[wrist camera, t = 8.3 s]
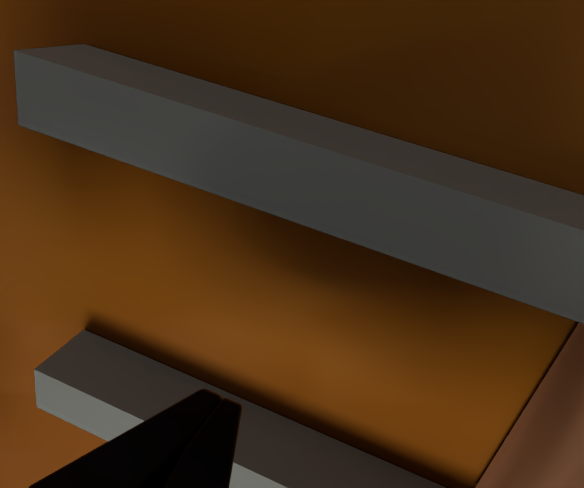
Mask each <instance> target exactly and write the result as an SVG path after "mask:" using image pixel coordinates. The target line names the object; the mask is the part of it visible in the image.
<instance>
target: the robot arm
mask: <svg viewBox="0 0 584 488" xmlns="http://www.w3.org/2000/svg"><path fill="white" fill-rule="evenodd" d="M241 413H242V405H241V404H240V403H238V402H236V401H233V400H231V399H229V398H226V397H225V398H222V396H221V395H220V394H217V393H215V392H213V391H211V390H208V389H205V388H204V389H200V390H198V391H196V392H195V393H193V394H191V395H189V396H188V397H186V398H184V399H182V400H181V401H179V402H177V403H175V404H173V405H172V406H170V407H168V408H166V409H165V410H163V411H161V412H159V413H158V414H156V415H154V416H152V417H151V418H149V419H147V420H145V421H144V422H142V423H140V424H138V425H136V426H135V427H133V428H131V429H129V430H128V431H126V432H124V433H122V434H121V435H119V436H117V437H115V438H114V439H112V440H110V441H108V442H106V443H105V444H103V445H101V446H99V447H98V448H96V449H94V450H92V451H91V452H89V453H87V454H85V455H84V456H82V457H80V458H78V459H76V460H75V461H73V462H71V463H69V464H68V465H66V466H64V467H62V468H61V469H59V470H57V471H55V472H54V473H52V474H50V475H48V476H46V477H45V478H43V479H41V480H39V481H38V482H36V483H34V484H32V485H31V486H29V488H229V485H230V479H231V473H232V467H233V461H234V455H235V449H236V443H237V437H238V431H239V425H240V419H241Z"/></svg>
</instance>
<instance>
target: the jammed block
mask: <svg viewBox="0 0 584 488" xmlns="http://www.w3.org/2000/svg"><path fill="white" fill-rule="evenodd" d="M475 488H584V324H582V323H580V322H579V323H578V325H577V327H576V328H575V330H574V331H573V333H572V335H571V336H570V338H569V339H568V341H567V342H566V344H565V346H564V347H563V349H562V350H561V352H560V354H559V355H558V357H557V358H556V360H555V362H554V363H553V365H552V366H551V368H550V369H549V371H548V373H547V374H546V376H545V377H544V379H543V381H542V382H541V384H540V385H539V387H538V389H537V390H536V392H535V393H534V395H533V396H532V398H531V400H530V401H529V403H528V404H527V406H526V408H525V409H524V411H523V412H522V414H521V416H520V417H519V419H518V420H517V422H516V424H515V425H514V427H513V428H512V430H511V431H510V433H509V435H508V436H507V438H506V439H505V441H504V443H503V444H502V446H501V447H500V449H499V451H498V452H497V454H496V455H495V457H494V458H493V460H492V462H491V463H490V465H489V466H488V468H487V470H486V471H485V473H484V474H483V476H482V478H481V479H480V481H479V482H478V484H477V485H476V487H475Z"/></svg>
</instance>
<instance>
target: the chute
mask: <svg viewBox="0 0 584 488" xmlns="http://www.w3.org/2000/svg"><path fill="white" fill-rule="evenodd" d="M14 66H15V81H16V97H17V112H18V125H20V126H23V127H25V128H28V129H31V130H34V131H37V132H40V133H42V134H45V135H48V136H51V137H54V138H57V139H59V140H62V141H65V142H68V143H71V144H74V145H77V146H79V147H82V148H85V149H88V150H91V151H94V152H96V153H99V154H102V155H105V156H108V157H111V158H113V159H116V160H119V161H122V162H125V163H128V164H131V165H133V166H136V167H139V168H142V169H145V170H148V171H150V172H153V173H156V174H159V175H162V176H165V177H167V178H170V179H173V180H176V181H179V182H182V183H185V184H187V185H190V186H193V187H196V188H199V189H202V190H204V191H207V192H210V193H213V194H216V195H219V196H221V197H224V198H227V199H230V200H233V201H236V202H238V203H241V204H244V205H247V206H250V207H253V208H256V209H258V210H261V211H264V212H267V213H270V214H273V215H275V216H278V217H281V218H284V219H287V220H290V221H292V222H295V223H298V224H301V225H304V226H307V227H310V228H312V229H315V230H318V231H321V232H324V233H327V234H329V235H332V236H335V237H338V238H341V239H344V240H346V241H349V242H352V243H355V244H358V245H361V246H364V247H366V248H369V249H372V250H375V251H378V252H381V253H383V254H386V255H389V256H392V257H395V258H398V259H400V260H403V261H406V262H409V263H412V264H415V265H418V266H420V267H423V268H426V269H429V270H432V271H435V272H437V273H440V274H443V275H446V276H449V277H452V278H454V279H457V280H460V281H463V282H466V283H469V284H472V285H474V286H477V287H480V288H483V289H486V290H489V291H491V292H494V293H497V294H500V295H503V296H506V297H508V298H511V299H514V300H517V301H520V302H523V303H526V304H528V305H531V306H534V307H537V308H540V309H543V310H545V311H548V312H551V313H554V314H557V315H560V316H562V317H565V318H568V319H571V320H574V321H577V322H580V323H582V324H584V195H581V194H578V193H575V192H571V191H568V190H565V189H561V188H558V187H555V186H552V185H548V184H545V183H542V182H538V181H535V180H532V179H528V178H525V177H522V176H519V175H515V174H512V173H509V172H505V171H502V170H499V169H495V168H492V167H489V166H486V165H482V164H479V163H476V162H472V161H469V160H466V159H462V158H459V157H456V156H453V155H449V154H446V153H443V152H439V151H436V150H433V149H429V148H426V147H423V146H420V145H416V144H413V143H410V142H406V141H403V140H400V139H396V138H393V137H390V136H386V135H383V134H380V133H377V132H373V131H370V130H367V129H363V128H360V127H357V126H353V125H350V124H347V123H344V122H340V121H337V120H334V119H330V118H327V117H324V116H320V115H317V114H314V113H311V112H307V111H304V110H301V109H297V108H294V107H291V106H287V105H284V104H281V103H278V102H274V101H271V100H268V99H264V98H261V97H258V96H254V95H251V94H248V93H245V92H241V91H238V90H235V89H231V88H228V87H225V86H221V85H218V84H215V83H212V82H208V81H205V80H202V79H198V78H195V77H192V76H188V75H185V74H182V73H178V72H175V71H172V70H169V69H165V68H162V67H159V66H155V65H152V64H149V63H145V62H142V61H139V60H136V59H132V58H129V57H126V56H122V55H119V54H116V53H112V52H109V51H106V50H103V49H99V48H96V47H93V46H89V45H86V44H78V45H67V46H55V47H44V48H33V49H21V50H14ZM34 374H35V389H36V405H37V407H38V408H40V409H42V410H44V411H46V412H48V413H50V414H53V415H55V416H57V417H59V418H61V419H63V420H65V421H67V422H69V423H71V424H73V425H75V426H77V427H79V428H81V429H84V430H86V431H88V432H90V433H92V434H94V435H96V436H98V437H100V438H102V439H104V440H106V441H110V440H112V439H114V438H115V437H117V436H119V435H121V434H122V433H124V432H126V431H128V430H129V429H131V428H133V427H135V426H136V425H138V424H140V423H142V422H144V421H145V420H147V419H149V418H151V417H152V416H154V415H156V414H158V413H159V412H161V411H163V410H165V409H166V408H168V407H170V406H172V405H173V404H175V403H177V402H179V401H181V400H182V399H184V398H186V397H188V396H189V395H191V394H193V393H195V392H196V391H198V390H200V389H204V388H205V389H208V390H211V391H213V392H215V393H217V394H220V395H221V396H222V398H225V397H226V398H229V399H231V400H233V401H236V402H238V403H240V404H241V405H242V413H241V419H240V425H239V431H238V437H237V443H236V449H235V455H234V461H233V467H232V473H231V479H230V485H229V488H445V487H443V486H441V485H439V484H436V483H434V482H432V481H429V480H427V479H425V478H423V477H420V476H418V475H416V474H413V473H411V472H409V471H407V470H404V469H402V468H400V467H397V466H395V465H393V464H391V463H388V462H386V461H384V460H381V459H379V458H377V457H375V456H372V455H370V454H368V453H365V452H363V451H361V450H359V449H356V448H354V447H352V446H349V445H347V444H345V443H343V442H340V441H338V440H336V439H333V438H331V437H329V436H326V435H324V434H322V433H320V432H317V431H315V430H313V429H310V428H308V427H306V426H304V425H301V424H299V423H297V422H294V421H292V420H290V419H288V418H285V417H283V416H281V415H278V414H276V413H274V412H272V411H269V410H267V409H265V408H262V407H260V406H258V405H256V404H253V403H251V402H249V401H246V400H244V399H242V398H240V397H237V396H235V395H233V394H230V393H228V392H226V391H224V390H221V389H219V388H217V387H214V386H212V385H210V384H208V383H205V382H203V381H201V380H198V379H196V378H194V377H191V376H189V375H187V374H185V373H182V372H180V371H178V370H175V369H173V368H171V367H169V366H166V365H164V364H162V363H159V362H157V361H155V360H153V359H150V358H148V357H146V356H143V355H141V354H139V353H137V352H134V351H132V350H130V349H127V348H125V347H123V346H121V345H118V344H116V343H114V342H111V341H109V340H107V339H105V338H102V337H100V336H98V335H95V334H93V333H91V332H89V331H86V330H82V331H81V332H80V333H79V334H77V335H76V336H75V337H74V338H73V339H71V340H70V341H69V342H68V343H66V344H65V345H64V346H63V347H61V348H60V349H59V350H58V351H56V352H55V353H54V354H53V355H51V356H50V357H49V358H48V359H46V360H45V361H44V362H43V363H42V364H40V365H39V366H38V367H37V368H35V369H34Z"/></svg>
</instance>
